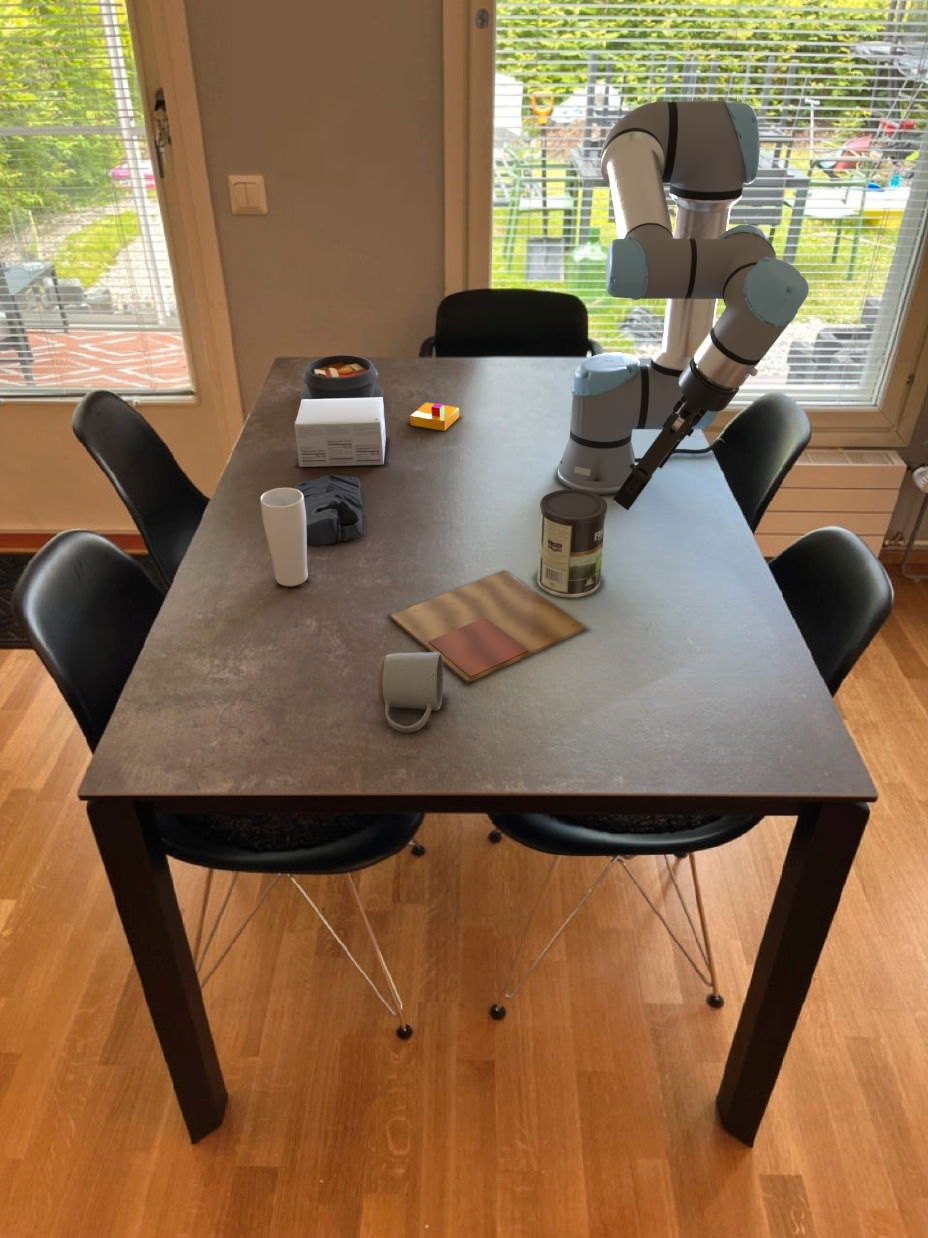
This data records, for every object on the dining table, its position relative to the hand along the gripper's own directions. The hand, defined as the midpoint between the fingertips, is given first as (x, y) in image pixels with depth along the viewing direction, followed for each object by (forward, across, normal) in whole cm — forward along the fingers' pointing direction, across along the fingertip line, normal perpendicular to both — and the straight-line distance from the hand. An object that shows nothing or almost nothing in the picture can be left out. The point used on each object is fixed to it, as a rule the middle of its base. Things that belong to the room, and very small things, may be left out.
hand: (638, 482), depth 144 cm
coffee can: (+22, -3, 0) cm, 22 cm away
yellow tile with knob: (+47, +42, +45) cm, 78 cm away
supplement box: (+49, +20, +53) cm, 75 cm away
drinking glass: (+38, -24, +36) cm, 58 cm away
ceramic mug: (+22, -42, +5) cm, 48 cm away
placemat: (+23, -20, +6) cm, 31 cm away
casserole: (+57, +41, +67) cm, 97 cm away
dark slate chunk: (+43, -4, +43) cm, 61 cm away
